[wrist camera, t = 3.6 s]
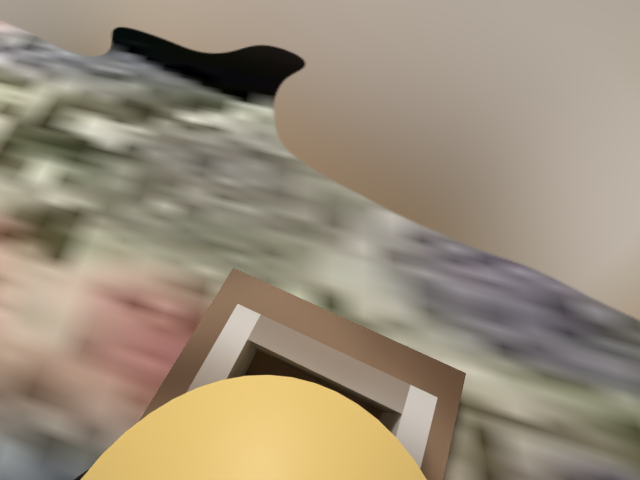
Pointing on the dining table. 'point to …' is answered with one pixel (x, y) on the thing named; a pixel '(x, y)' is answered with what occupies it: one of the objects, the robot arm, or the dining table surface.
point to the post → (257, 437)
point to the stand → (321, 364)
